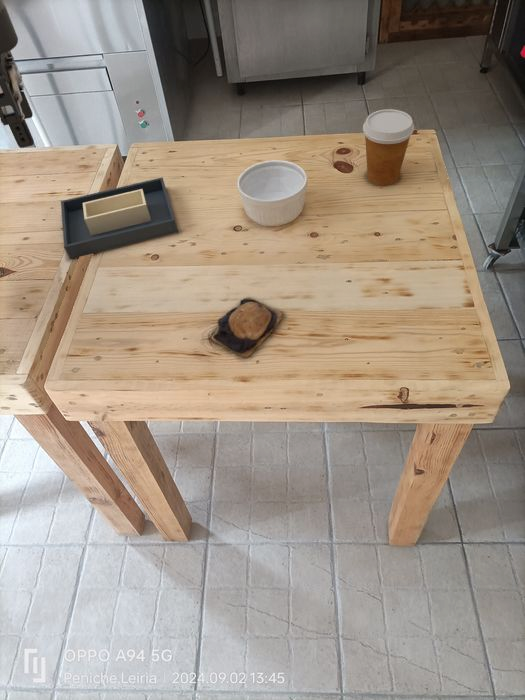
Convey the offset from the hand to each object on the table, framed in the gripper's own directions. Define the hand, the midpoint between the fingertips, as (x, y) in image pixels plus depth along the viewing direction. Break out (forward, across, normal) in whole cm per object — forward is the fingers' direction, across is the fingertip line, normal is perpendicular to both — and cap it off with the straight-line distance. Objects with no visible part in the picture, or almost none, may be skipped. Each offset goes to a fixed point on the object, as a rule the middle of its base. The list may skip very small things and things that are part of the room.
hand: (26, 131), depth 79 cm
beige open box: (+26, -11, +8) cm, 29 cm away
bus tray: (+27, -11, +8) cm, 30 cm away
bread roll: (+27, +26, +24) cm, 44 cm away
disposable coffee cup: (+26, -4, +62) cm, 67 cm away
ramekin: (+26, -2, +38) cm, 46 cm away
